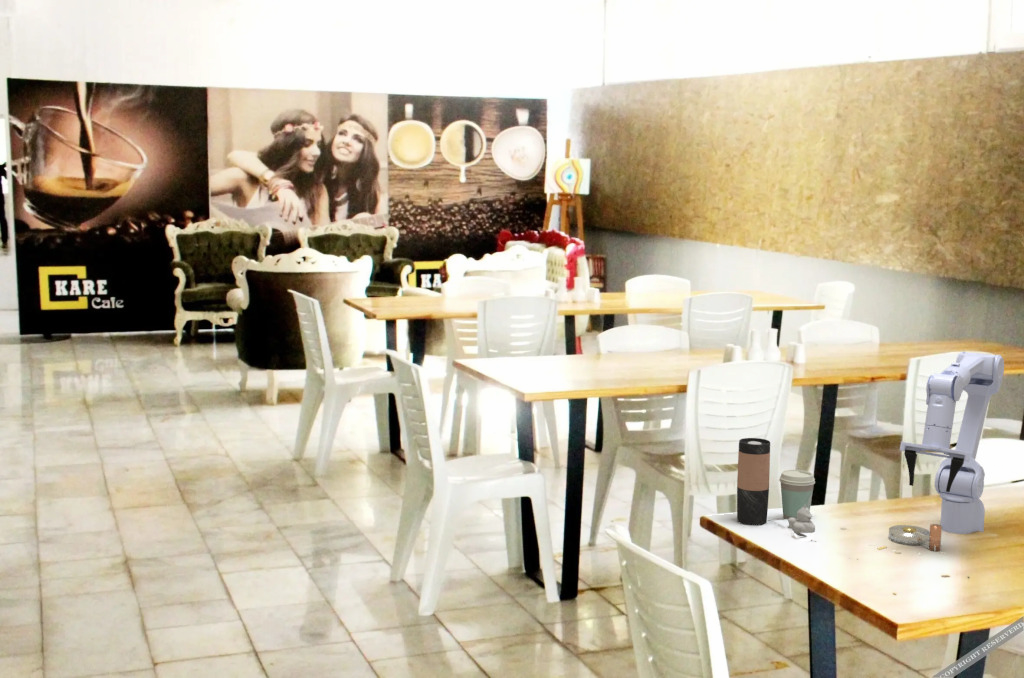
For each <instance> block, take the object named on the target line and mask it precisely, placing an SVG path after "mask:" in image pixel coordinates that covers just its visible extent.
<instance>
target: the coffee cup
mask: <svg viewBox="0 0 1024 678" xmlns="http://www.w3.org/2000/svg"><path fill="white" fill-rule="evenodd" d="M815 480H816V478H815V477H814V473H813V472H811V471H808V470H802V469H785V470H782V471H781V474H780V476H779V480H778V481H779V482H780V493H781V494H780V495H781V504H782V507H781V508H782V517H783V520H788V519H789V518H791V517H793V518H796V519H797V516H796V514H797V512H798V510H799V509H801V508H802V507H804V505H805V504H806V507H807V508H808V509H809V511H811V505H812V497H813V491H814V485H815V484H816V481H815Z"/></svg>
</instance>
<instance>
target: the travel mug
mask: <svg viewBox="0 0 1024 678" xmlns="http://www.w3.org/2000/svg"><path fill="white" fill-rule="evenodd" d="M770 464H771V441H770V440H768V439H765V438H757V437H745V438H740V439H739V442H738V455H737V479H736V520H737V522H738V523H739V522H740V523H739V524H741V525H747V526H762V525H765V524H767V521H768V509H769V494H770V492H769V491H770V471H771V470H770V467H771V466H770Z"/></svg>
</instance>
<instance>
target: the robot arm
mask: <svg viewBox="0 0 1024 678" xmlns="http://www.w3.org/2000/svg"><path fill="white" fill-rule="evenodd" d="M1004 372H1005V361H1004V358H1003V356H1002V355H1001V354H985V353H977V352H976V353H975V352H967V351H960V352H959V354H957V356H956V360H955V362H954V361H953V362H952V363H951V365H949V366H948V367H946V368H945V369H944V370H943V371H941V372H940V373H937V372H934V373H933V374H931V375H929V376H928V378H927V382H926V389H925V391H926V400H925V403H926V405H927V409H926V417H925V422H924V429H923V436H922V443H921V444H920V443H911V442H906V441H905V442H904V441H900V446H899V451H900V452H904V458H905V460H906V466H907V469H908V475H909V477H908V478H909V482H908V483H909V486H911V487H912V486H914V483H915V482H914V481H915V470H916V464H917V458H918V454H922V455H928V456H934V457H938V458H939V457H940V458H945V459H943V460H942V461H940V464H939V467H938V470H937V471H936V473H935V479H934V488H935V489H934V490H935V491H936V493H937V494H938V495H939V498H941V506H940V507H941V509H940V524H939V525H941V526H942V529H941V531H943V532H947V533H951V534H956V535H958V534H959V535H966V534H971V533H974V532H981V533H984V531H985V530H984V529H985V516H986V515H985V513H986V511H985V506H984V502H983V501H982V500H981V497H982V495H983V492H984V487H985V476H986V475H985V470H984V468H983V466H982V465H981V464H980V463H979V462H978V461H977V460H976V459H977V454H978V449H979V445H980V441H981V436H982V433H983V428H984V423H985V418H986V414H987V411H988V407H989V403H990V400H991V398H992V396H993V395H995V394H998V393H999V391H1000V389H1001V387H1002V383H1003V376H1004ZM963 392H965V393H966V394H967V400H966V404H965V407H964V410H963V411H964V412H963V416H962V421H961V425H960V429H959V433H958V437H957V441H956V445H955V448H954V449H953V448H952V449H950V448H951V446H950V444H951V438H952V431H953V425H954V418H955V411H956V405H957V402H958V401H960V400H961V399H960V398H961V397H962V394H963ZM928 451H929V452H928ZM933 452H934V453H933ZM939 453H942V454H939Z"/></svg>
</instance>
